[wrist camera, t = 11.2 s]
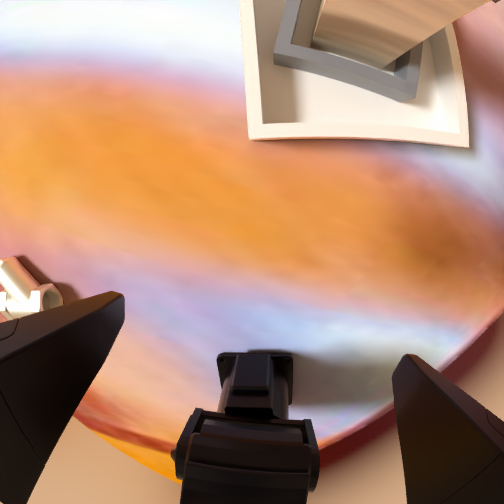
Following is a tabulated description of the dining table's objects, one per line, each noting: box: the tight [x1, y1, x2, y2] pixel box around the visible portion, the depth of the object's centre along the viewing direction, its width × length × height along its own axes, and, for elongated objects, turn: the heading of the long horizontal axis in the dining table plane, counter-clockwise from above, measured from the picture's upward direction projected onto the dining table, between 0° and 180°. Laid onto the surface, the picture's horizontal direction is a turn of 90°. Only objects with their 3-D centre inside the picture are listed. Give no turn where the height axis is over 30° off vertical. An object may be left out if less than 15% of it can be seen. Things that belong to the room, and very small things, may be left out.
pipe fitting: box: [0, 257, 63, 320], centre depth 23 cm, size 8×4×7 cm
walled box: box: [239, 0, 469, 148], centre depth 14 cm, size 16×14×4 cm
